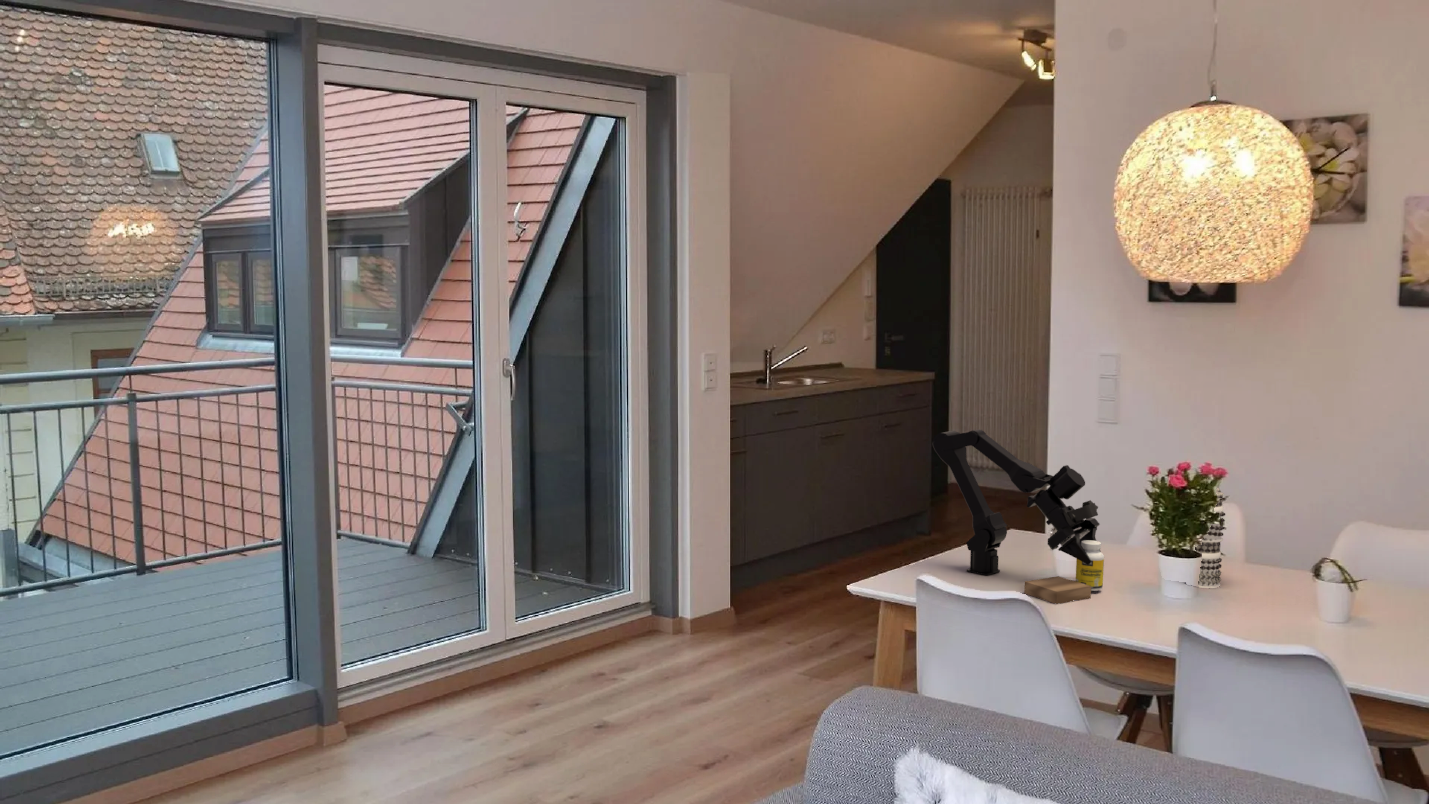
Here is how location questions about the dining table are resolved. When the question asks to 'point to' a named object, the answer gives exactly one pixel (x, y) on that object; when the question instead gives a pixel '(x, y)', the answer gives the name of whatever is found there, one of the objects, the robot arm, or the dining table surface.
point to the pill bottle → (1091, 566)
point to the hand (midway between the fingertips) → (1095, 560)
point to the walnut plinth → (1057, 589)
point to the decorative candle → (1211, 551)
